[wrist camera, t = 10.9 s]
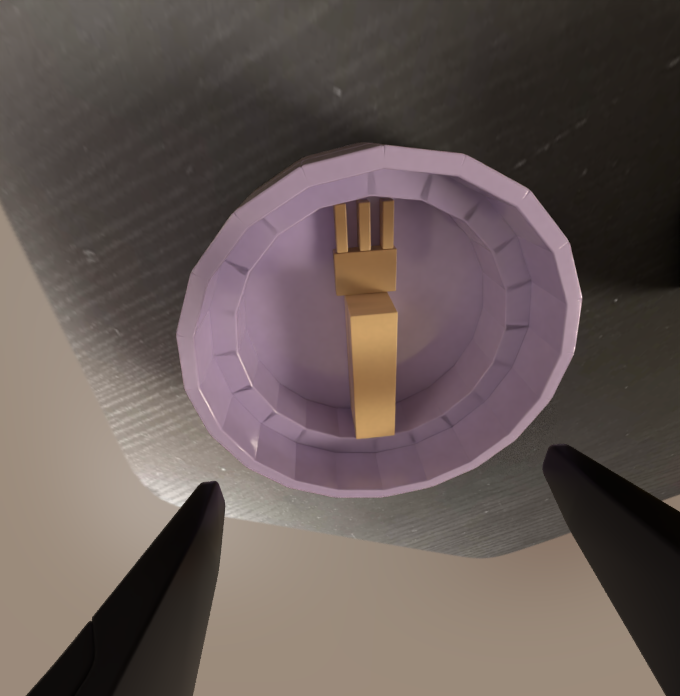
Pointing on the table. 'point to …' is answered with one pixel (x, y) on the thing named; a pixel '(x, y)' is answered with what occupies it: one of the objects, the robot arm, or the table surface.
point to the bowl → (412, 331)
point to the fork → (369, 316)
